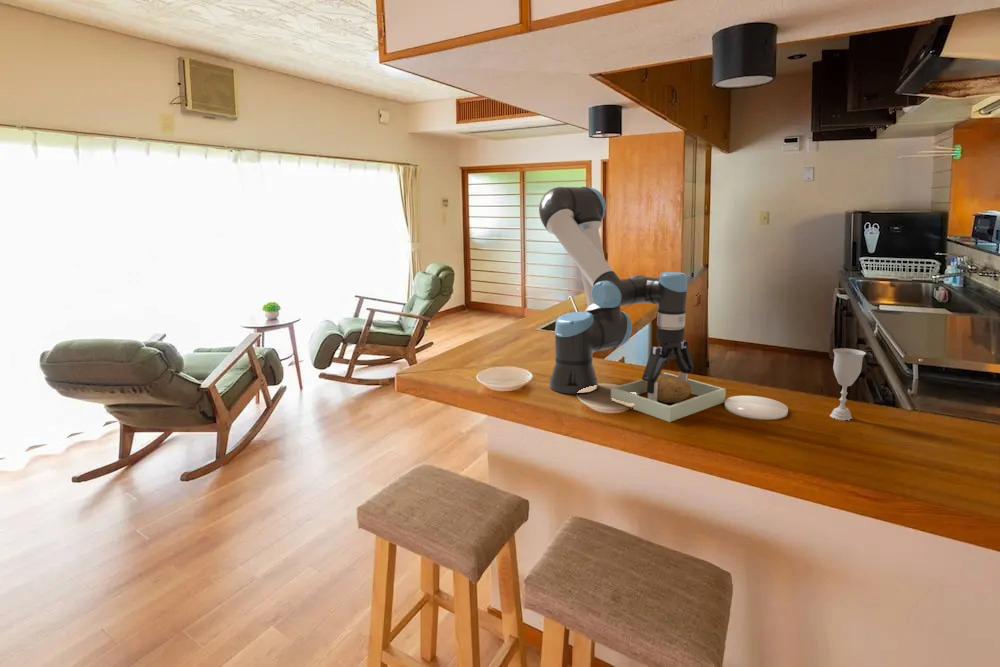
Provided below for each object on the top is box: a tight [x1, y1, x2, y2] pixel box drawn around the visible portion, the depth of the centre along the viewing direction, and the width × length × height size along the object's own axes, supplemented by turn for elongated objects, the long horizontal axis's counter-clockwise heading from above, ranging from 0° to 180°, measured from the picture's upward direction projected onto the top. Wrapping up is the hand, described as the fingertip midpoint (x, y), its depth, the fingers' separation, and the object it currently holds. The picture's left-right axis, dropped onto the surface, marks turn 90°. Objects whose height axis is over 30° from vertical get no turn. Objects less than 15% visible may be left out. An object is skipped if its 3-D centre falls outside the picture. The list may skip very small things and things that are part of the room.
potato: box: [645, 372, 692, 404], centre depth 159 cm, size 10×14×8 cm
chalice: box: [829, 347, 867, 421], centre depth 144 cm, size 7×7×18 cm
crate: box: [610, 372, 727, 423], centre depth 160 cm, size 21×25×4 cm
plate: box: [724, 395, 789, 421], centre depth 153 cm, size 16×16×1 cm
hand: (667, 398), depth 160 cm, fingers open, 13 cm apart
